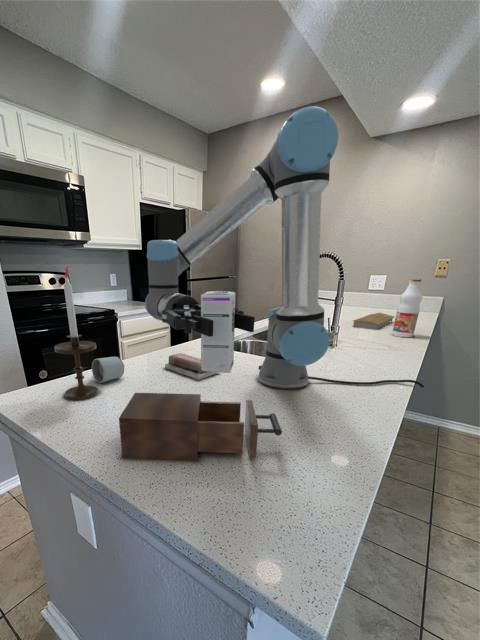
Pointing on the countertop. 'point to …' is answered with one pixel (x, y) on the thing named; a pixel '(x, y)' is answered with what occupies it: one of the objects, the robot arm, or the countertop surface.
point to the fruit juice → (408, 310)
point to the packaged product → (187, 366)
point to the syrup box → (218, 331)
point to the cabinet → (160, 426)
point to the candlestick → (75, 349)
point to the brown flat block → (373, 321)
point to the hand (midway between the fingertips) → (232, 326)
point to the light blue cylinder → (107, 369)
